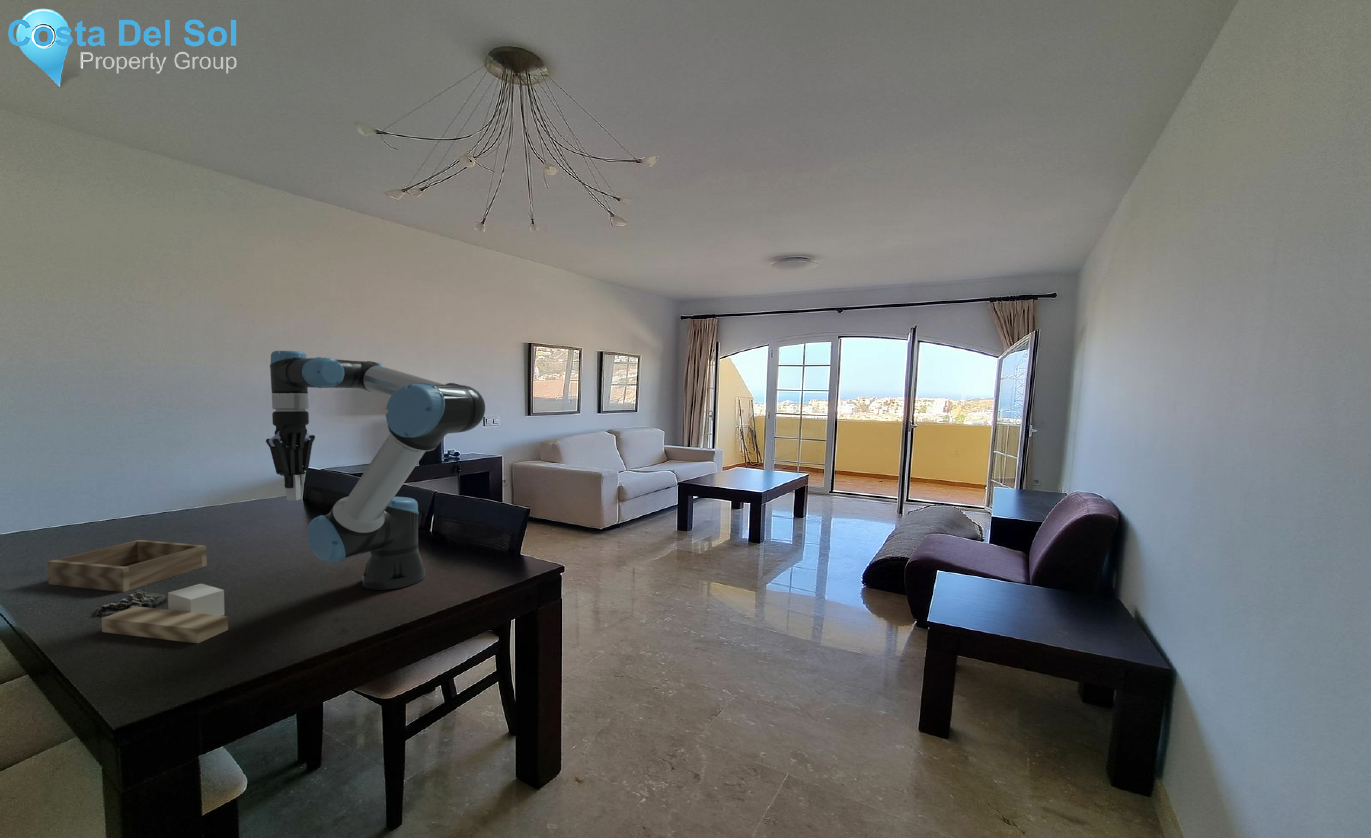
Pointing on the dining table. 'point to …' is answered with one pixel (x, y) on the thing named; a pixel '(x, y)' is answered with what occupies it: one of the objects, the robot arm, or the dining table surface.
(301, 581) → the dining table surface
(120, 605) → the crumpled grey lump
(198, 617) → the batten
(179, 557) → the wooden serving tray
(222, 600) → the block
